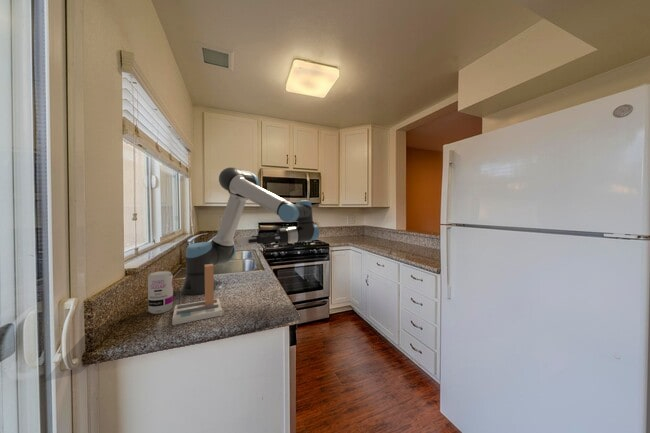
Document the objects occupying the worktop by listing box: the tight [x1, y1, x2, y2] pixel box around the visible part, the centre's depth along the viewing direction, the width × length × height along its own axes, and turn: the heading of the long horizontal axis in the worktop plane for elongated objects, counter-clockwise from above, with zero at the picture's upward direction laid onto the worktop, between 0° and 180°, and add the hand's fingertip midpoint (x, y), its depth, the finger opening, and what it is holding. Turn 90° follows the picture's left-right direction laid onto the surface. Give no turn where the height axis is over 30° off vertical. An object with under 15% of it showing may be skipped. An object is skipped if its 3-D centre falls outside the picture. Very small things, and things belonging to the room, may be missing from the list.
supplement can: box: [147, 270, 174, 315], centre depth 95 cm, size 8×8×15 cm
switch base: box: [171, 298, 223, 326], centre depth 92 cm, size 14×16×3 cm
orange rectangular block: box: [204, 264, 215, 306], centre depth 94 cm, size 4×3×16 cm
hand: (238, 241), depth 100 cm, fingers open, 13 cm apart
